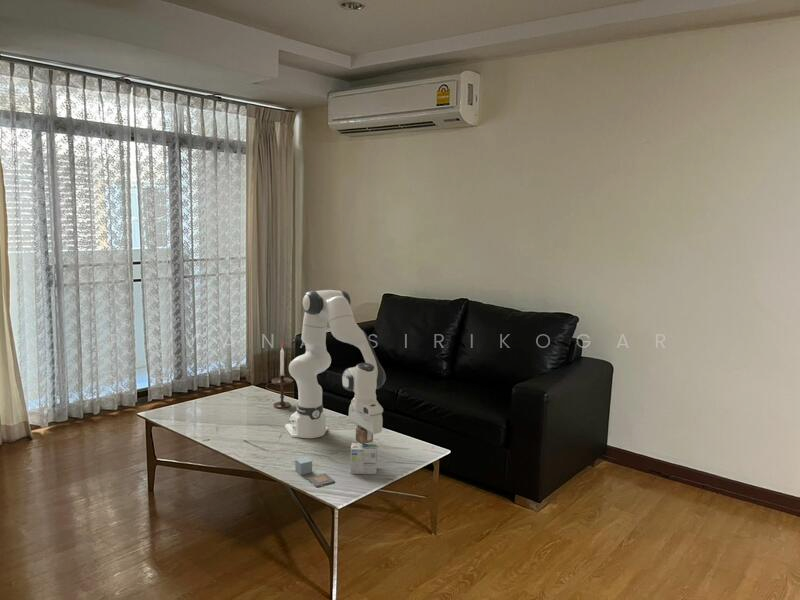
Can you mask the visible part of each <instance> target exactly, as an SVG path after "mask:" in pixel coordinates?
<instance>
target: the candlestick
mask: <svg viewBox="0 0 800 600" xmlns="http://www.w3.org/2000/svg"><path fill="white" fill-rule="evenodd" d="M283 347H284V342H282V343H281V350H279V351H280V352H279V355H280V358H279V360H280V361H279V362H280V364H279V365H280V366H279V368H280V370H279V371H280V372H279V374H278V377H275V378H272V379H271V384H273V385H277V386H278V385H280V391H279V395H280V396H279V398H280V401H277V402H274V403H273V408H274V409H280V410H281V409H283V410H284V409H289V408H290V407H291V405H292V404H291V403H290V402H289V401H285V400H284V398H285V396H284V395H285V393H286V392H285V391H284V386H285V385H289V384H292V383H293V378H291V377H287V376H286V374H285V350H284V348H283Z"/></svg>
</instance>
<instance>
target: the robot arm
mask: <svg viewBox="0 0 800 600" xmlns="http://www.w3.org/2000/svg"><path fill="white" fill-rule="evenodd" d="M301 301H302V302H301V303H302V304H301V305H302V309H303V311H304V315H303V320H302V321H303V322H302V328H301V336H300V337H301V341H302V343H303V344H304V345H305V352H304V353H303V354H301V355H298V356H296V357H295V358H294V359H292V360H291V361H290V362H289V364H288V372H289V374H290V376H291V377H292V379H294V380H295V382H296V385H297V390H298V392H297V394H298V397H297V398H298V402H297V403H296V410H295V412H293V413H292V414H291V415H290V416H289V419H288V423H286V424H285V425H284V428H285V429H286V431H287V432H288V433H289V435H290V437H292V438H302V439H315V438H320V437H322V436H324V435H326V432H327V431H329V427H328V426H327V424H326V421H327V420H326V413H324V404H323V388H322V386H321V385H320V384H319V382H318V379H317V376H318V375H319V374H321V373H323V372H325V371H326V370H327V369H328V368H329V367H330V366H331V363H332V357H331V355H330V353H329V352H328V350H327V344H326V340H327V330H328V326H329V330H330V333H331V335H332V336H333V338H335V339H336V340H337V341H340V342H342V343H346V344H348V345H351V346H352V345H353V346H354V347H356V348H358V349H359V350H360V352H361V354H362V357H363V360H364V362H360V363H357V364H356V366H353V367H348V368H346V369H344V371H343V372H342V374H341V385H342V387H343V388H344V389H345V390H347V391H348V392H353V393H354V396H353V398H352V399H351V401H350V404H349V407H348V420H349V421H351V422H353V423H355V428H360V427H363V428H365V429H366V430H367V432H368V434H367V435H366V439H367V440H371V436H372V434H373V435H377V434H380V433H382V431H383V422H384V421H383V420H384V419H383V412H384V408H383V407H382V405H381V404H380V403H379V402H378V401H379V400H377V394H376V390H379V389H381V388H382V386H383V385H384V384H385V382H386V379H387V377H386V376H387V375H386V372H385V370H384V367H382V365H381V363H380V362H379V359H378V357H377V355H376V351H375V350H374V347H373V345H372V343H371V340H370V338H369V336H368V335H367V333H366V332H365V330H363V329H361V327H359V325H358V324H357V322H356V319H355V316H354V312H353V310H352V306H351V302H352V301H351V297H350V295H349V293H348V292H347V291H344V290H335V289H334V290H333V289H323V290H310V291H306V292H305V293H304V294H303V297H302V300H301Z"/></svg>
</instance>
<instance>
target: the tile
mask: <svg viewBox="0 0 800 600" xmlns="http://www.w3.org/2000/svg"><path fill="white" fill-rule="evenodd" d="M307 479H308V480H309V481H310V483H311V484H312V483H313V484H314V485H315V486H316V488H319V487H318V486H320V487H322V486H321V485H324V486H327V485H330V484H334V483H335V482H336V481H335V480H334V479H333V478H332V477H330V475H328V474H327V473H325V472H324V473H321V474H318V475H316V474H315V475H314V476H310V477H307V478H306V480H307ZM308 480H307V481H308ZM309 481H308V482H309ZM313 484H312V485H313ZM326 484H327V485H326ZM314 485H313V486H314ZM315 486H314V487H315Z"/></svg>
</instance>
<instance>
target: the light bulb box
mask: <svg viewBox="0 0 800 600" xmlns="http://www.w3.org/2000/svg"><path fill="white" fill-rule="evenodd" d="M377 469H378V442H377V443H376V442H370V443H366V444H361V443H359V442H357V443H356V442H351V446H350V474H351V475H354V474H355V475H357V474H359V475H377V472H378V471H377Z"/></svg>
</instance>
